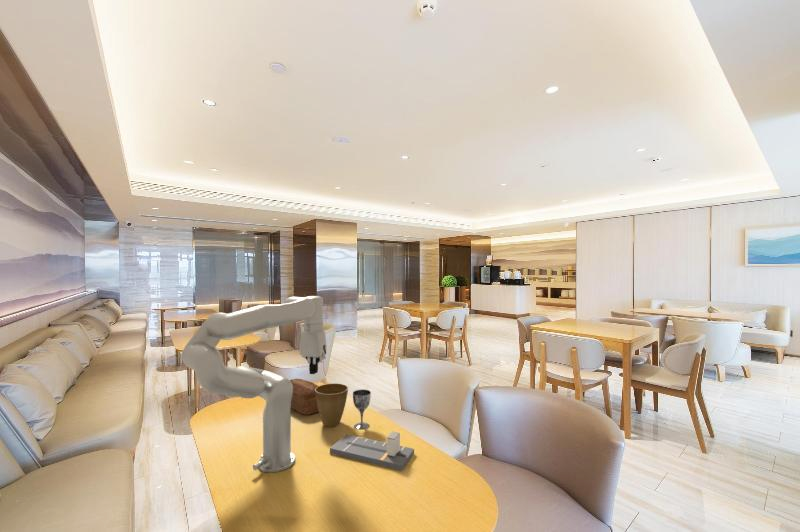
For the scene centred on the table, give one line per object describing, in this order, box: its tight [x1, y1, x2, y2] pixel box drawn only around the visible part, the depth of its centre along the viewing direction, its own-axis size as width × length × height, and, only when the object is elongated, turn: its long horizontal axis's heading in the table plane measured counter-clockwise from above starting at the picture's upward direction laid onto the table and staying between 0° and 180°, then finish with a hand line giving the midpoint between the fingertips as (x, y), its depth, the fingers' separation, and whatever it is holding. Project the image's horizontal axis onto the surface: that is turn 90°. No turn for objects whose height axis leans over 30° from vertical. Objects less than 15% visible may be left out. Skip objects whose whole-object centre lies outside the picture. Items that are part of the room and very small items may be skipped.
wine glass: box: [352, 388, 372, 431], centre depth 157 cm, size 8×8×15 cm
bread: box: [289, 378, 319, 416], centre depth 179 cm, size 14×28×12 cm, turn 45°
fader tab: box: [386, 431, 401, 456], centre depth 130 cm, size 5×3×6 cm, turn 157°
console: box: [329, 434, 415, 472], centre depth 134 cm, size 12×30×2 cm, turn 67°
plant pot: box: [315, 383, 349, 428], centre depth 160 cm, size 15×15×16 cm
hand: (313, 373), depth 139 cm, fingers closed
